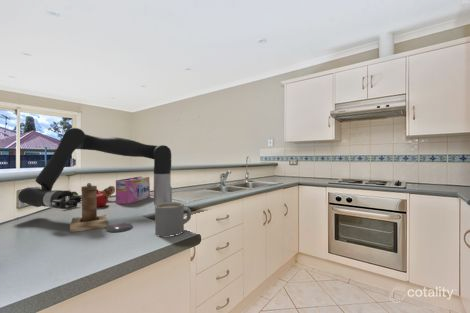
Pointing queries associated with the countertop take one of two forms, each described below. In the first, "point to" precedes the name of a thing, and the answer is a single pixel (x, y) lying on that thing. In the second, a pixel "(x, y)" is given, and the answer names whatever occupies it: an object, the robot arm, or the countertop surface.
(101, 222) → the holder
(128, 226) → the coaster
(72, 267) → the countertop surface
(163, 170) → the robot arm
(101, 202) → the pomegranate
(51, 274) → the countertop surface
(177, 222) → the coffee mug
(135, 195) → the gum box
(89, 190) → the pepper mill
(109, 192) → the lion figurine
